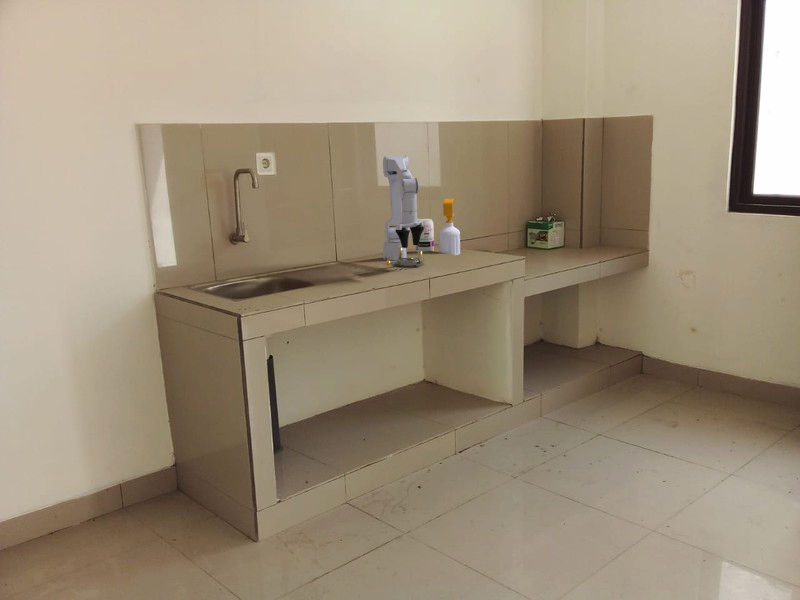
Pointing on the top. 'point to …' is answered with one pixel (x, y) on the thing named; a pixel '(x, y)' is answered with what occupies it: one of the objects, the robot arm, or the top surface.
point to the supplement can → (426, 236)
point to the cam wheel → (407, 260)
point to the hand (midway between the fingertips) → (410, 246)
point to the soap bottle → (449, 232)
